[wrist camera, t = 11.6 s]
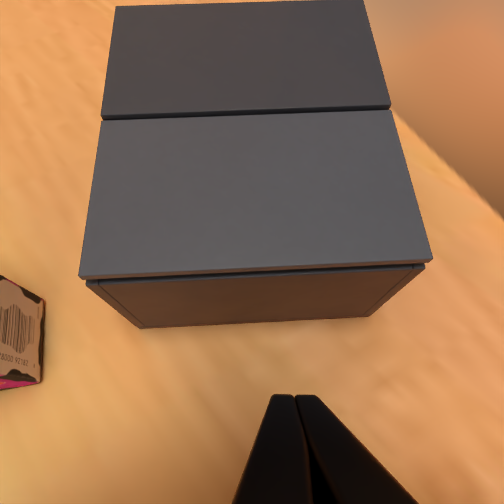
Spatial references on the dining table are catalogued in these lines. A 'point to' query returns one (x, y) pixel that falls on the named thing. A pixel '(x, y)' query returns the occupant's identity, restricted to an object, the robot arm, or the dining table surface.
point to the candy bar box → (20, 335)
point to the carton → (246, 103)
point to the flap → (250, 195)
